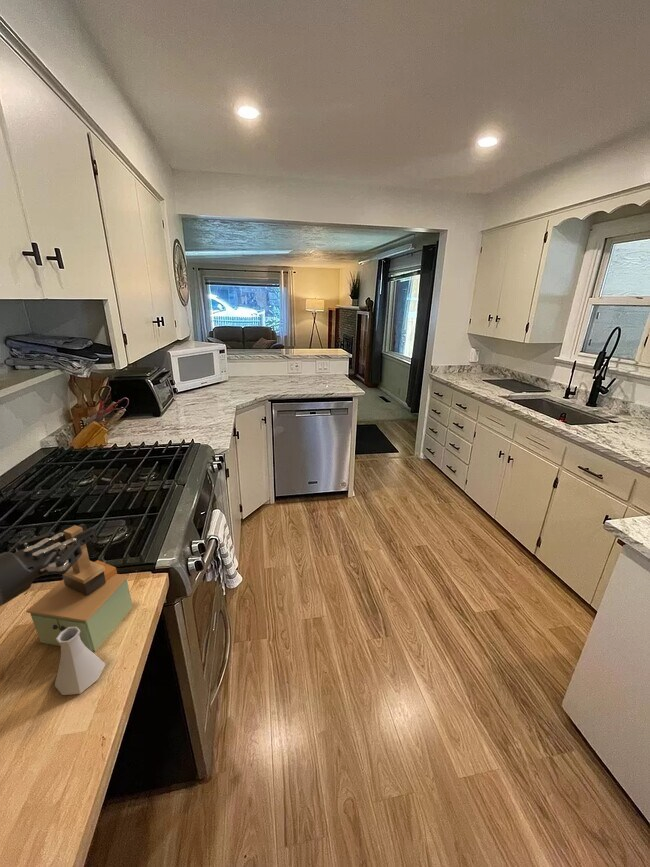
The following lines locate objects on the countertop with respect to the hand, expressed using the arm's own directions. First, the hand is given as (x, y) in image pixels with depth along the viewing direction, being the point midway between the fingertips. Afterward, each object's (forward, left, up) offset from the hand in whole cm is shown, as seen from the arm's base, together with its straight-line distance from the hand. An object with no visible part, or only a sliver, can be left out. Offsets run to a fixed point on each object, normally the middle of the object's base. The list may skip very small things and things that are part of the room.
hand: (89, 529), depth 72 cm
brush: (-1, -3, -11) cm, 11 cm away
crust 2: (+1, 0, -11) cm, 11 cm away
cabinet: (0, -5, -20) cm, 20 cm away
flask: (+7, -15, -20) cm, 26 cm away
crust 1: (-2, +1, -11) cm, 11 cm away
